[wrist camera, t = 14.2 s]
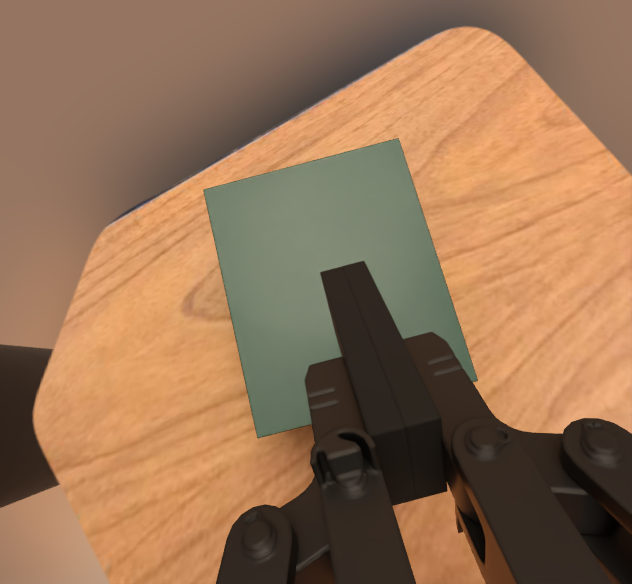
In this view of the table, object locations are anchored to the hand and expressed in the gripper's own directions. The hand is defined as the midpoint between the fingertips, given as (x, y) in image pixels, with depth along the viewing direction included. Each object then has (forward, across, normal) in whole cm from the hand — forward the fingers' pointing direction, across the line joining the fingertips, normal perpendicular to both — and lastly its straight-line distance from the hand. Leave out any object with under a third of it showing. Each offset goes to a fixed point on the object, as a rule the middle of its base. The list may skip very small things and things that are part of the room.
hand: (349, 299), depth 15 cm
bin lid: (+12, 0, -7) cm, 13 cm away
